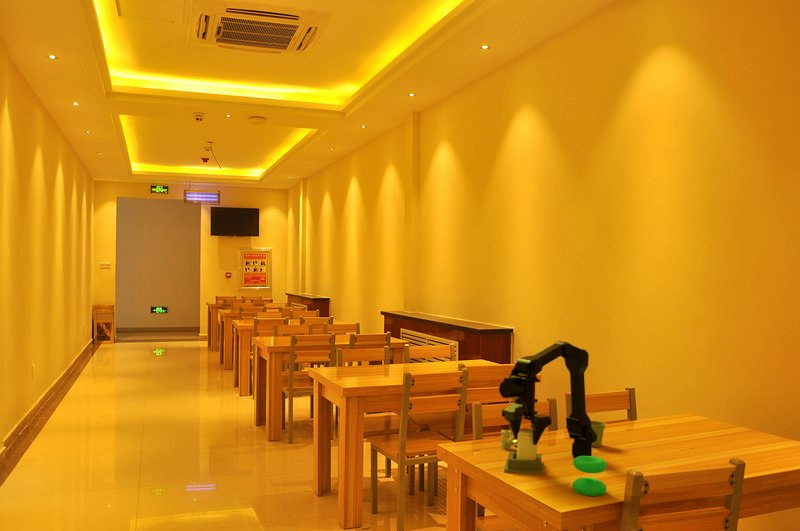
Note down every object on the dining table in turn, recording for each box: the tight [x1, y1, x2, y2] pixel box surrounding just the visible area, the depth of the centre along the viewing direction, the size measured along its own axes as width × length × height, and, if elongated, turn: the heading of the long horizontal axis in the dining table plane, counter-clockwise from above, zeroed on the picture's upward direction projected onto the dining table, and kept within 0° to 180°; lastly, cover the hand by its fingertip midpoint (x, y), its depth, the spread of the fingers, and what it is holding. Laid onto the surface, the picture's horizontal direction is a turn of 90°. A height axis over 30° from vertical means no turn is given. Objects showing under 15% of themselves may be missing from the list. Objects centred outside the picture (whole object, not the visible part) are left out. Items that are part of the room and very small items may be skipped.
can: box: [516, 427, 538, 461], centre depth 234 cm, size 6×6×12 cm
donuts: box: [571, 455, 608, 497], centre depth 211 cm, size 10×10×10 cm
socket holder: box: [503, 451, 545, 476], centre depth 234 cm, size 13×13×4 cm
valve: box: [500, 429, 518, 452], centre depth 258 cm, size 7×7×12 cm
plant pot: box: [591, 420, 607, 448], centre depth 270 cm, size 9×9×9 cm
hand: (525, 441), depth 234 cm, fingers open, 9 cm apart
